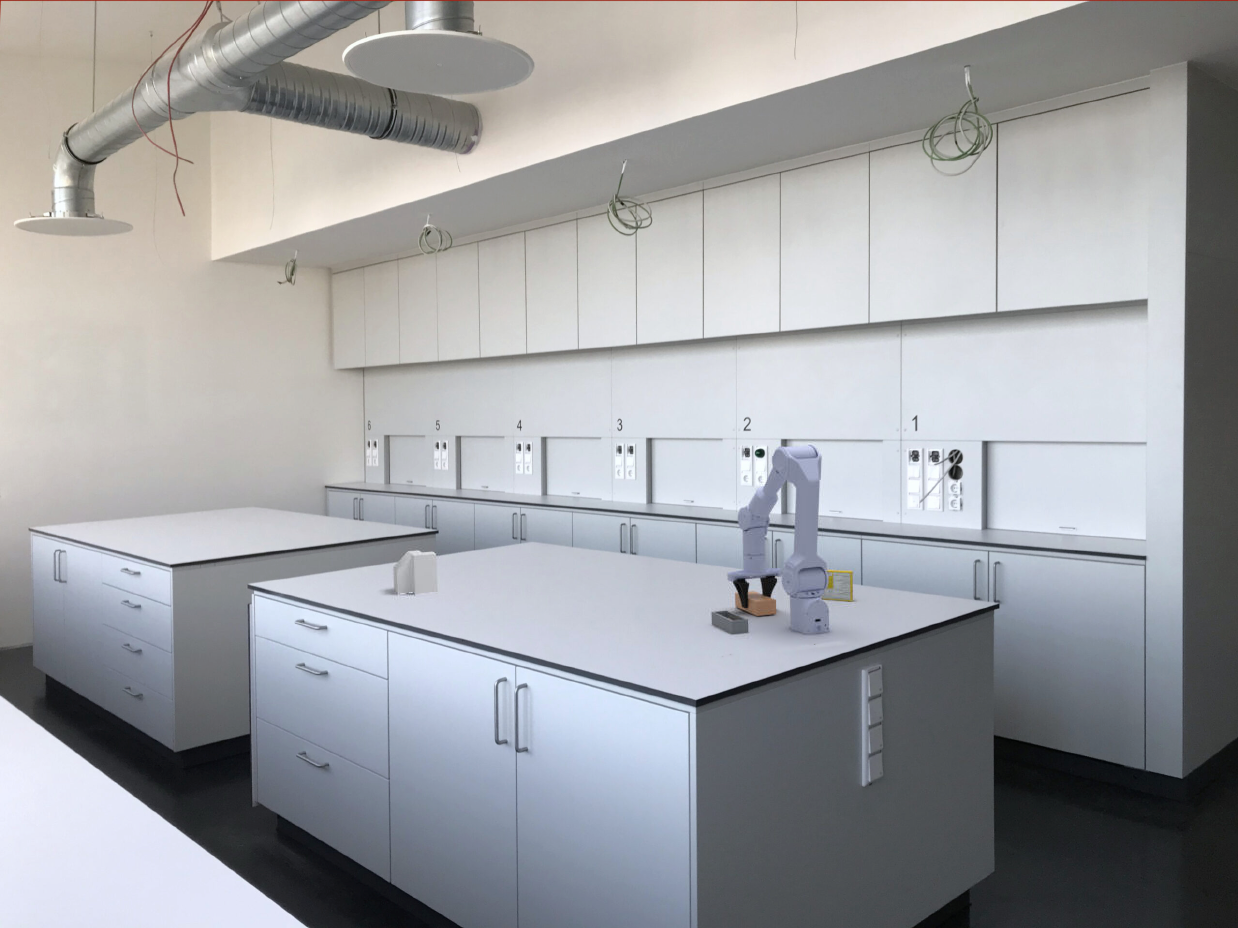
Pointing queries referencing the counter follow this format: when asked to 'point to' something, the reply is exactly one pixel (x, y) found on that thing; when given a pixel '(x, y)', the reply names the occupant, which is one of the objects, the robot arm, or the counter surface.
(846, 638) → the counter surface
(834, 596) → the candy box
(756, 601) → the tan rectangular plank
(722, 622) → the storage box
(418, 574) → the corner bracket
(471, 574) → the counter surface
